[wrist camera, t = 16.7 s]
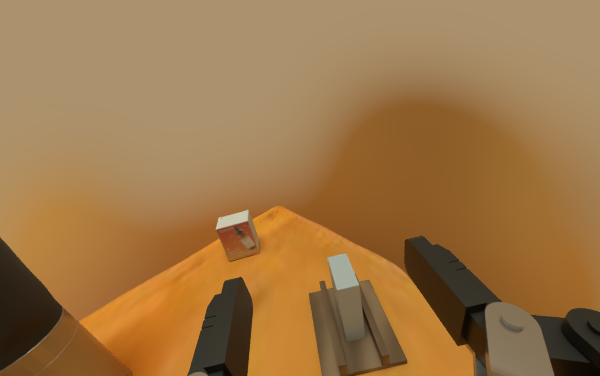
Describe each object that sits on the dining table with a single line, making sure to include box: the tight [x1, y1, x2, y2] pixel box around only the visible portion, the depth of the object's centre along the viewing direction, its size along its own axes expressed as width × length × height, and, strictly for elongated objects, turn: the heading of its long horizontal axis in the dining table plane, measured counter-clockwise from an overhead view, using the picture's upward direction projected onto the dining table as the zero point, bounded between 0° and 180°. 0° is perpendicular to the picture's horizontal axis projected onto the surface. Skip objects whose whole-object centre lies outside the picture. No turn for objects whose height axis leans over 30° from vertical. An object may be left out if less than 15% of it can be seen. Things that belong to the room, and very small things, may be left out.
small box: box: [216, 210, 260, 261], centre depth 58 cm, size 8×6×10 cm
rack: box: [309, 274, 407, 376], centre depth 37 cm, size 12×14×3 cm
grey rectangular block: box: [327, 253, 365, 342], centre depth 35 cm, size 3×6×12 cm, turn 6°
